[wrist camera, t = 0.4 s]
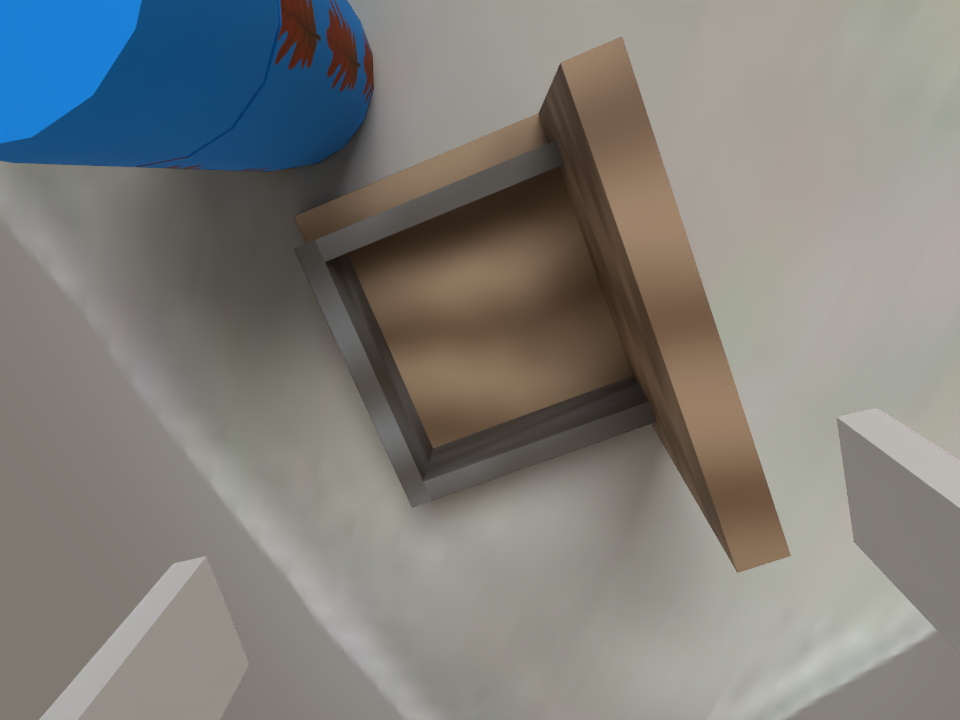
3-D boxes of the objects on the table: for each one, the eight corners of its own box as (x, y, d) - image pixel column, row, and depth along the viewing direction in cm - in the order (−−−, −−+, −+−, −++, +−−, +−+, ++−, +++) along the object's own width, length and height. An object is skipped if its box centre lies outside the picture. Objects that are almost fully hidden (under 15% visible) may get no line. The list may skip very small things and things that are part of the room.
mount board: (299, 215, 41) (144, 241, 24) (571, 100, 39) (621, 36, 22) (424, 493, 45) (370, 689, 28) (677, 403, 43) (790, 555, 26)
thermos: (180, 152, 41) (-308, 111, 16) (193, -51, 38) (-368, -460, 14) (364, 186, 41) (150, 196, 16) (390, -14, 38) (180, -357, 14)
